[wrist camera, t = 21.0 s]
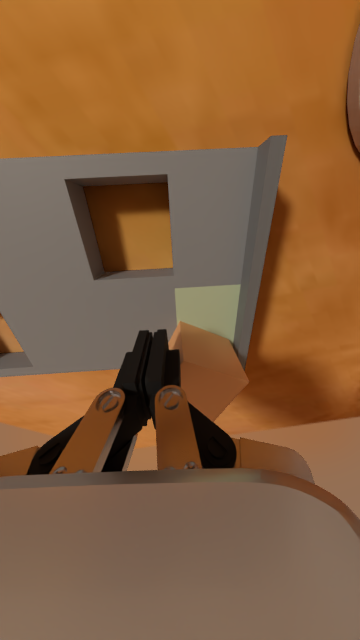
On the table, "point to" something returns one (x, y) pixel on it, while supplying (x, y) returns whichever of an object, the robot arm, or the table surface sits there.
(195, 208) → the plate
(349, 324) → the table surface
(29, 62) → the table surface
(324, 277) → the table surface
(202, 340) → the block
